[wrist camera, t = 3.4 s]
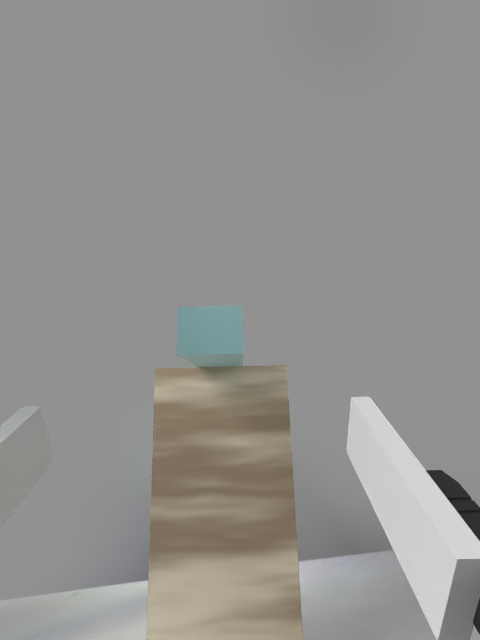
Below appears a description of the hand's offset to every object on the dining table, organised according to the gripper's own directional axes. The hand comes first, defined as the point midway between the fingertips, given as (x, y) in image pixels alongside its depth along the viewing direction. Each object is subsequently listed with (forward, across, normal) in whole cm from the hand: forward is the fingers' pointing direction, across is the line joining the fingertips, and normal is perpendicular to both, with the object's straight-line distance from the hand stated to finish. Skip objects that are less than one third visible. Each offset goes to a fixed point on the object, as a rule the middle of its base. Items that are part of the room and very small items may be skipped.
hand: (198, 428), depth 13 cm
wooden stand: (+5, 0, -33) cm, 33 cm away
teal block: (+17, 0, -6) cm, 18 cm away
